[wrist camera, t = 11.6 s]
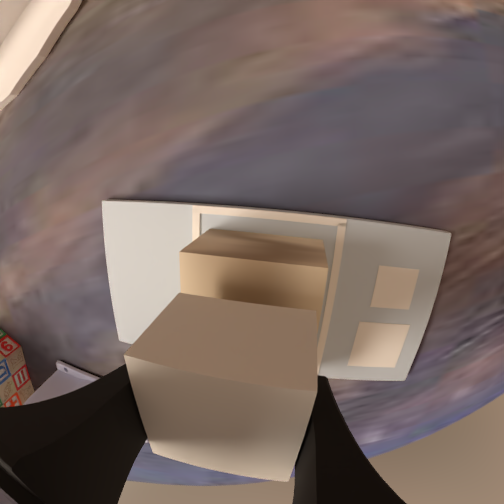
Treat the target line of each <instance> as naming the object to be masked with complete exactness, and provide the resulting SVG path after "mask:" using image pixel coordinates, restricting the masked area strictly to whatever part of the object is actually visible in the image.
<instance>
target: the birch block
mask: <svg viewBox="0 0 504 504" xmlns="http://www.w3.org/2000/svg"><path fill="white" fill-rule="evenodd" d="M179 262H180V287H181V293H185V294H191V295H198V296H204V297H211V298H218V299H225V300H232V301H239V302H247V303H254V304H262V305H270V306H279V307H287V308H296V309H305V310H315V311H316V320H317V332H318V327H319V322H320V316H321V311H322V305H323V299H324V293H325V287H326V281H327V275H328V263H327V258H326V253H325V248H324V243H323V240H321V239H312V238H302V237H292V236H283V235H273V234H262V233H252V232H241V231H231V230H220V229H209V230H207V231H206V232H205V233H203V234H202V235H201V236H199V237H198V238H197V239H195V240H194V241H193V242H191V243H190V244H189V245H187V246H186V247H185V248H183V249H182V250H181V251H180V252H179Z"/></svg>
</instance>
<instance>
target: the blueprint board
mask: <svg viewBox="0 0 504 504" xmlns="http://www.w3.org/2000/svg"><path fill="white" fill-rule="evenodd" d="M102 214H103V229H104V241H105V252H106V261H107V270H108V277H109V285H110V292H111V298H112V304H113V310H114V316H115V321H116V326H117V332H118V336H119V341H123V342H126V343H130V344H133V343H134V342H135V341H136V340H137V339H138V338H139V337H140V336H141V334H142V333H143V332H144V331H145V330H146V329H147V328H148V327H149V325H150V324H151V323H152V322H153V321H154V320H155V319H156V318H157V316H158V315H159V314H160V313H161V312H162V311H163V310H164V309H165V308H166V307H167V305H168V304H169V303H170V302H171V301H172V300H173V299H174V298H175V297H176V295H177V294H178V293H181V287H180V262H179V252H180V251H181V250H182V249H183V248H185V247H186V246H187V245H189V244H190V243H191V242H193V241H194V240H195V239H197V238H198V237H199V236H201V235H202V234H203V233H205V232H206V231H207V230H209V229H220V230H231V231H241V232H252V233H262V234H273V235H283V236H292V237H302V238H312V239H321V240H323V243H324V248H325V253H326V258H327V263H328V275H327V281H326V287H325V293H324V299H323V305H322V311H321V316H320V322H319V327H318V332H317V375H320V376H326V377H327V378H333V379H350V380H376V381H405V379H406V377H407V374H408V372H409V370H410V367H411V365H412V363H413V360H414V358H415V355H416V353H417V350H418V348H419V345H420V343H421V340H422V337H423V335H424V332H425V329H426V326H427V323H428V320H429V317H430V314H431V311H432V308H433V305H434V302H435V298H436V295H437V292H438V288H439V285H440V281H441V277H442V273H443V269H444V265H445V261H446V257H447V253H448V248H449V243H450V239H451V233H450V232H448V231H445V230H438V229H432V228H426V227H419V226H412V225H406V224H399V223H392V222H384V221H377V220H369V219H361V218H353V217H345V216H336V215H327V214H318V213H309V212H299V211H289V210H278V209H267V208H256V207H243V206H230V205H216V204H201V203H184V202H165V201H143V200H112V199H107V200H103V201H102Z"/></svg>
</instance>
